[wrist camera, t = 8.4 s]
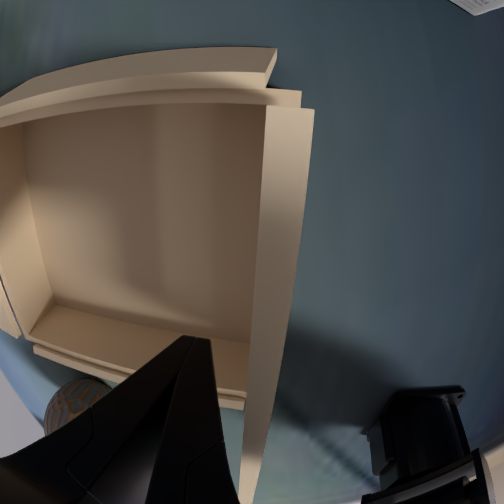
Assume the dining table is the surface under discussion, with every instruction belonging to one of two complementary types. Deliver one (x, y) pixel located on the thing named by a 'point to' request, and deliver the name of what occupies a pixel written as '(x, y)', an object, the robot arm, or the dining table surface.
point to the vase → (72, 402)
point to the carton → (137, 207)
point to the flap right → (274, 274)
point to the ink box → (479, 5)
